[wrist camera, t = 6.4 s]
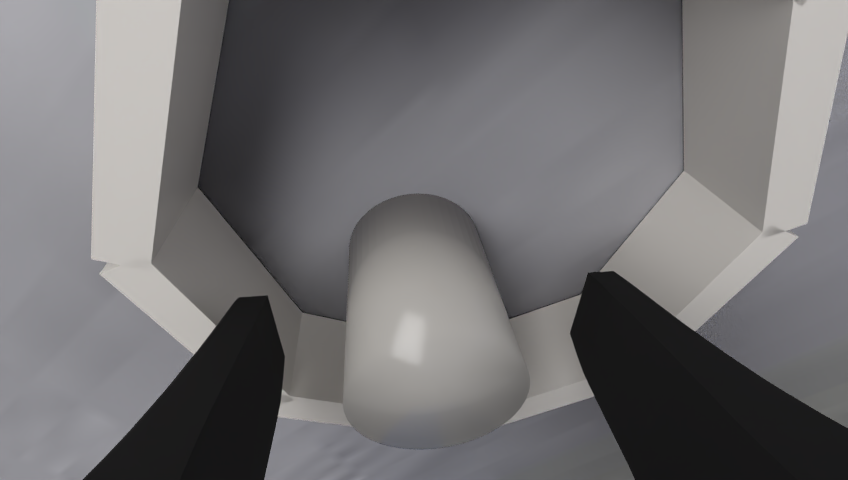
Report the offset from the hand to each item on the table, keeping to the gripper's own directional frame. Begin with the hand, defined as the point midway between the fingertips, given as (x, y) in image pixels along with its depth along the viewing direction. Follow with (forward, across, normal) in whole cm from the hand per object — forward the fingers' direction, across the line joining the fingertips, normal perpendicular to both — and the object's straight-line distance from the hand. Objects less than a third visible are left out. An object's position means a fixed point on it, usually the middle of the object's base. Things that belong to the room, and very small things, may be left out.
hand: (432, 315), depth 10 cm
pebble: (+3, 0, 0) cm, 3 cm away
